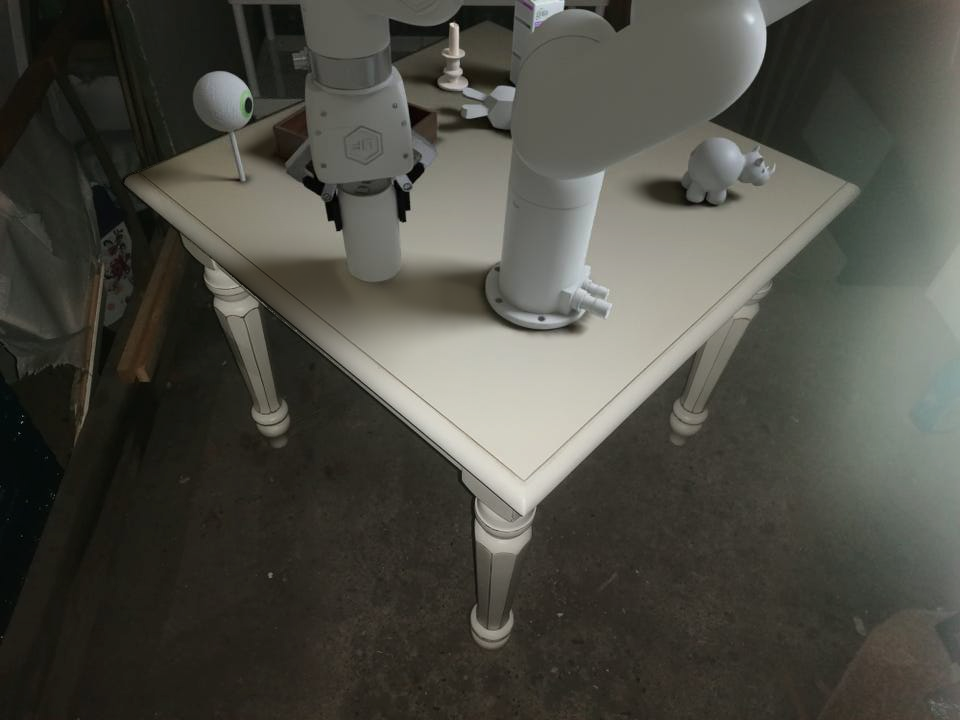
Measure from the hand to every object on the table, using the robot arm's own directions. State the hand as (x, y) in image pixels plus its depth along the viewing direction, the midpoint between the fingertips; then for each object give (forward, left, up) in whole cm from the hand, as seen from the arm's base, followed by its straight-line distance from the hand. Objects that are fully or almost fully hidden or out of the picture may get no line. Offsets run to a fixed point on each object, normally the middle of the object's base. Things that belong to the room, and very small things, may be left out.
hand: (369, 218), depth 75 cm
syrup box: (+7, -55, -8) cm, 56 cm away
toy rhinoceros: (-31, -41, -8) cm, 52 cm away
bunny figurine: (+4, -41, -8) cm, 42 cm away
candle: (+18, -47, -8) cm, 51 cm away
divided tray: (+19, -22, -8) cm, 30 cm away
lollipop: (+27, -6, -8) cm, 28 cm away
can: (0, 0, -7) cm, 7 cm away
